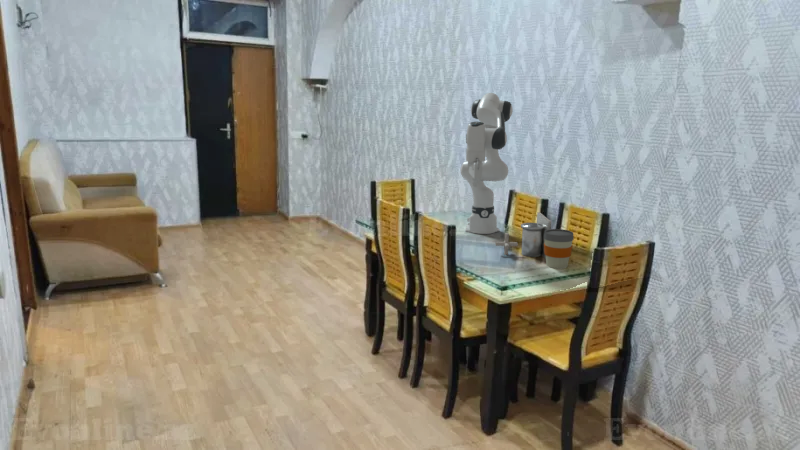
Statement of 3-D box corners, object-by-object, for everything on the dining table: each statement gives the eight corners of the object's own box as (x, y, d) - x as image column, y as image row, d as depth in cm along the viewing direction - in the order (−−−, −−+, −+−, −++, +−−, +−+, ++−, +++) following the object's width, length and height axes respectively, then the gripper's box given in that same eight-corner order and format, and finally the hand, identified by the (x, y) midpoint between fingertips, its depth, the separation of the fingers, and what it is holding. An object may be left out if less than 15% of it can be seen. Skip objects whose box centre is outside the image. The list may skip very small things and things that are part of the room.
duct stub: (515, 248, 271) (517, 212, 267) (538, 248, 271) (539, 212, 267) (524, 260, 252) (526, 221, 248) (549, 260, 252) (551, 221, 248)
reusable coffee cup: (537, 262, 249) (538, 229, 245) (562, 260, 252) (564, 228, 248) (550, 270, 237) (552, 236, 233) (577, 268, 240) (579, 234, 236)
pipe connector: (517, 257, 256) (518, 236, 254) (495, 257, 257) (496, 236, 255) (516, 251, 266) (516, 231, 264) (494, 251, 267) (495, 231, 265)
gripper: (485, 159, 250) (485, 189, 253) (479, 154, 270) (478, 182, 273) (471, 159, 250) (471, 190, 253) (466, 154, 270) (465, 183, 273)
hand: (475, 186), depth 263 cm, fingers closed
